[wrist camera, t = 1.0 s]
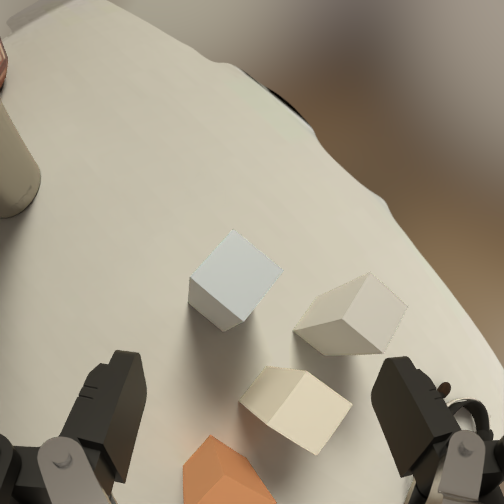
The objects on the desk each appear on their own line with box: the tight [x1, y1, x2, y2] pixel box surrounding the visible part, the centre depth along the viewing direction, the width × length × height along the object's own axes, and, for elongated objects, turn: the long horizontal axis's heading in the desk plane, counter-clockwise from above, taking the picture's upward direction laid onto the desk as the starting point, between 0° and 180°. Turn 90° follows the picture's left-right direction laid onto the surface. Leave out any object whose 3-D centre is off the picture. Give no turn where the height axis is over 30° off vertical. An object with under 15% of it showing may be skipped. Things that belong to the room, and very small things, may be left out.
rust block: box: [183, 435, 277, 504], centre depth 23 cm, size 5×5×12 cm
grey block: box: [293, 272, 408, 356], centre depth 30 cm, size 5×5×12 cm
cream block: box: [239, 366, 353, 456], centre depth 26 cm, size 5×5×12 cm
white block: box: [188, 229, 284, 332], centre depth 29 cm, size 5×5×12 cm
